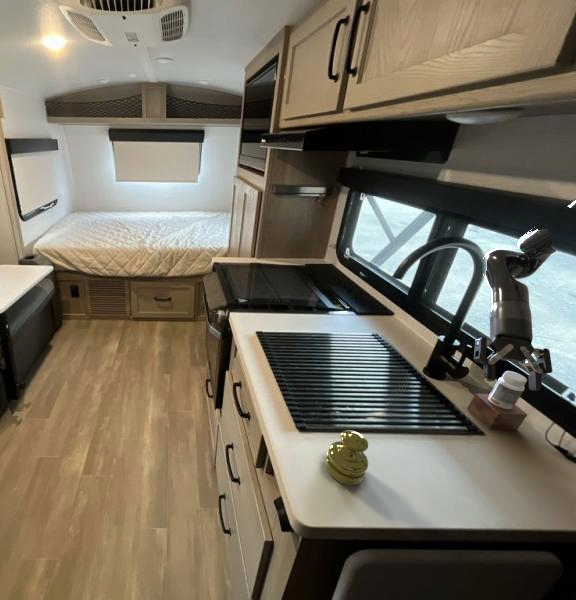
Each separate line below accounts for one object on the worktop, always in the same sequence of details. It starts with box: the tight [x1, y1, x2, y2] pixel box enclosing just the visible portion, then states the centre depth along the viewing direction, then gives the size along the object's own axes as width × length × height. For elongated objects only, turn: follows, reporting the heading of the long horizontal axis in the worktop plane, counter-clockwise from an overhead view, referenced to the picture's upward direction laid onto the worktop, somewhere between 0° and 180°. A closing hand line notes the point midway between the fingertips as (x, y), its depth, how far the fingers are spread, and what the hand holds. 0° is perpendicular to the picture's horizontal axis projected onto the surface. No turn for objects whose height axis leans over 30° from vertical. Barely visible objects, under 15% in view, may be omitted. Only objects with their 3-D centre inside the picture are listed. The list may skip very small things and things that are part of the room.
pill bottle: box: [488, 370, 528, 409], centre depth 81 cm, size 5×5×8 cm
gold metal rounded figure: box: [324, 429, 369, 486], centre depth 68 cm, size 7×7×10 cm
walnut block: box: [467, 393, 528, 431], centre depth 84 cm, size 7×7×5 cm
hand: (512, 385), depth 80 cm, fingers open, 8 cm apart
